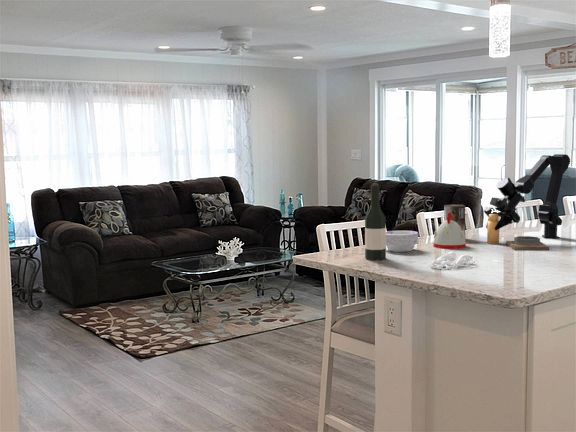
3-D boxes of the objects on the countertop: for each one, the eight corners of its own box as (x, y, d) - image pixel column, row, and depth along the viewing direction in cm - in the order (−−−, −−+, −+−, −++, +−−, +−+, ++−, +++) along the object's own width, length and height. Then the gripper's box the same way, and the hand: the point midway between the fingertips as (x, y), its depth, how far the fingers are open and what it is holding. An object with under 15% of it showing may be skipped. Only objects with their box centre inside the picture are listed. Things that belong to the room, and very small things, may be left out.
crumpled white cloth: (453, 276, 240) (453, 264, 239) (419, 267, 250) (419, 257, 249) (480, 266, 253) (481, 256, 253) (447, 259, 263) (447, 249, 262)
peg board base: (506, 244, 299) (506, 235, 299) (538, 244, 298) (539, 235, 297) (514, 250, 283) (514, 240, 283) (548, 250, 282) (548, 240, 281)
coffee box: (463, 238, 319) (463, 204, 318) (465, 240, 313) (465, 205, 311) (443, 238, 320) (443, 204, 318) (445, 240, 314) (445, 205, 312)
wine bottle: (387, 257, 272) (387, 183, 269) (383, 260, 264) (383, 184, 261) (367, 256, 275) (367, 183, 271) (362, 259, 267) (362, 184, 264)
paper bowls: (383, 247, 297) (383, 229, 296) (418, 247, 294) (418, 229, 293) (381, 253, 282) (381, 234, 281) (418, 253, 279) (418, 234, 278)
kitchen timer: (430, 248, 293) (430, 214, 291) (436, 243, 305) (436, 210, 304) (463, 249, 287) (463, 214, 286) (467, 244, 300) (468, 211, 298)
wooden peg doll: (486, 242, 306) (486, 213, 304) (497, 242, 305) (498, 213, 304) (488, 243, 301) (488, 215, 299) (500, 243, 300) (500, 215, 299)
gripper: (486, 189, 311) (467, 215, 307) (515, 192, 294) (495, 219, 290) (500, 205, 315) (480, 230, 311) (529, 209, 298) (509, 235, 294)
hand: (490, 228), depth 302 cm, fingers closed on wooden peg doll, 5 cm apart
